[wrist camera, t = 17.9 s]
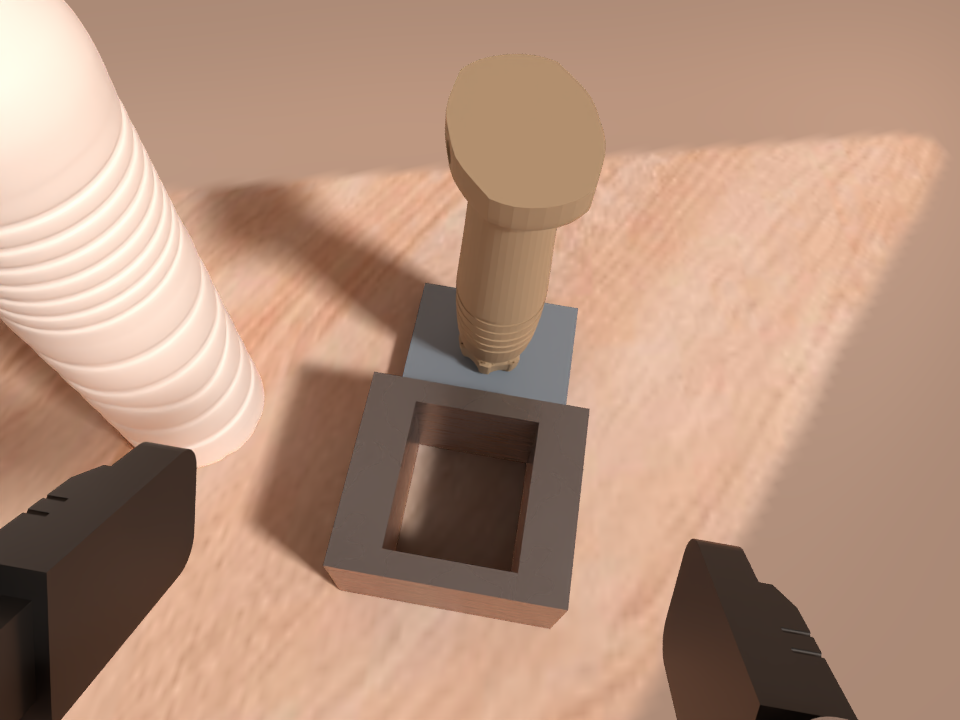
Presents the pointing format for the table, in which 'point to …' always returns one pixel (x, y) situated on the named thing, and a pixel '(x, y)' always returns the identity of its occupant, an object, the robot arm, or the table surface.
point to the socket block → (478, 430)
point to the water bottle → (107, 251)
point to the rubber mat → (532, 378)
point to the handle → (515, 192)
